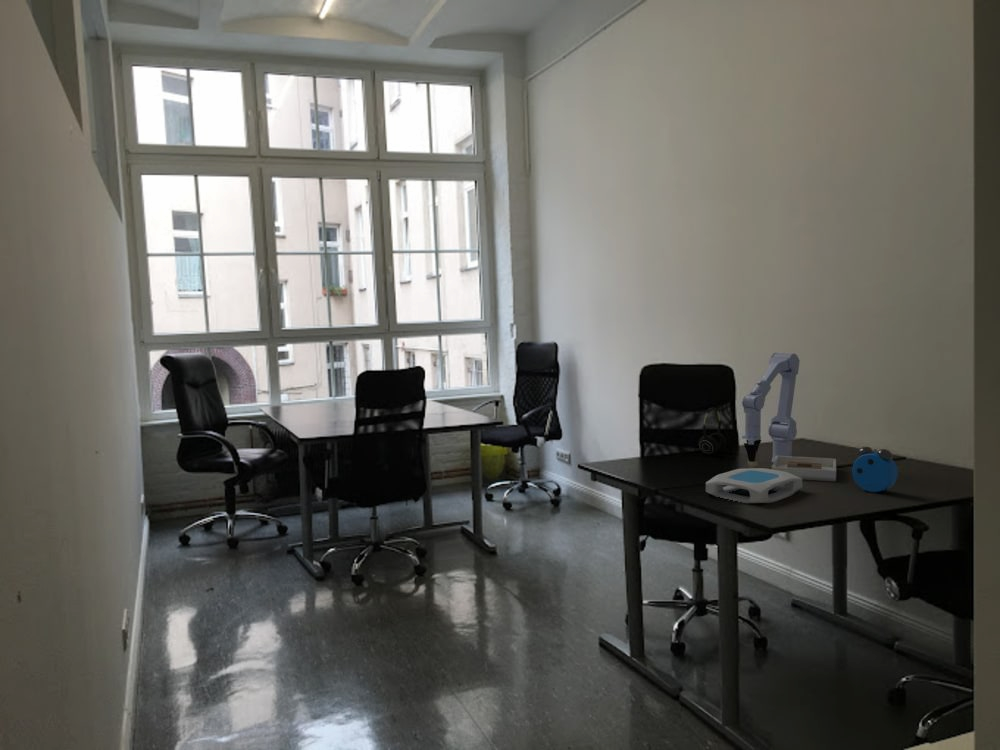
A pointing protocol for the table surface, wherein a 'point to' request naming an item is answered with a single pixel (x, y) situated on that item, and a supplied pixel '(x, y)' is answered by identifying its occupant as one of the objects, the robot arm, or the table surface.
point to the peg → (753, 464)
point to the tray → (807, 474)
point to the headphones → (712, 438)
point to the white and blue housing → (754, 485)
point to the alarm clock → (874, 470)
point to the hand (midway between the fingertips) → (752, 459)
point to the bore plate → (804, 465)
